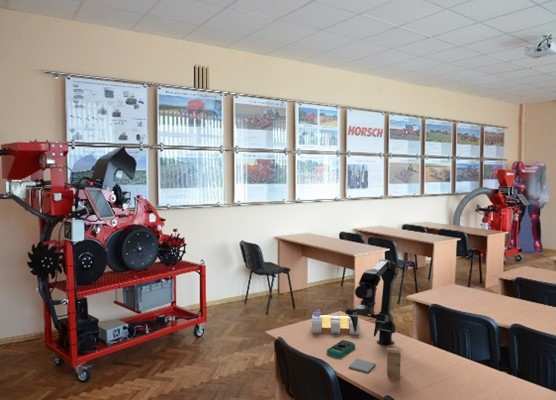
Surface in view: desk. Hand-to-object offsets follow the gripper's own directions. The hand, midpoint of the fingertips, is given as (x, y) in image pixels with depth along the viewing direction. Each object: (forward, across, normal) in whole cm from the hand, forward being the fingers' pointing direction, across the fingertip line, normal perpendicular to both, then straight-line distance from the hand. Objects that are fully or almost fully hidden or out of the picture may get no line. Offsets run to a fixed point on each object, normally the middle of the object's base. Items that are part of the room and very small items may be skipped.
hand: (364, 334), depth 190 cm
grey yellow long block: (+6, -28, +31) cm, 43 cm away
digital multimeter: (+12, -15, +10) cm, 21 cm away
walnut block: (+14, +15, 0) cm, 20 cm away
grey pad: (+14, 0, 0) cm, 14 cm away
